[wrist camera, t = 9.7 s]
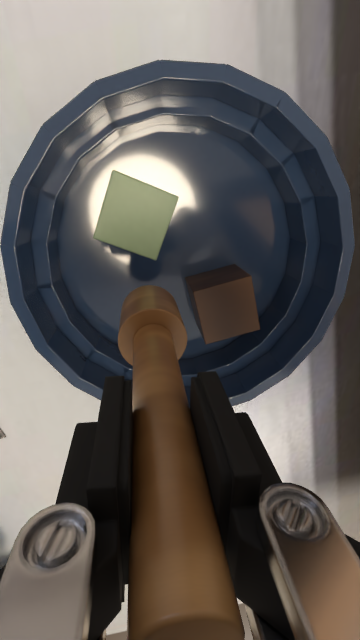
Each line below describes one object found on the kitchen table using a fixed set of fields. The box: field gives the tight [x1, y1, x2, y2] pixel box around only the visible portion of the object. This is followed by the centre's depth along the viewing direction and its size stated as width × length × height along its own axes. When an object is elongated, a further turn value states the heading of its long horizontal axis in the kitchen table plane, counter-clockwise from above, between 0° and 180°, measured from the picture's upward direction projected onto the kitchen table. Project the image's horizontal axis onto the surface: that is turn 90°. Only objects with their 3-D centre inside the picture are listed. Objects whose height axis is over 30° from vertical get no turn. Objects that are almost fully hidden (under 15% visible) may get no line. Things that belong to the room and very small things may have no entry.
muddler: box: [118, 285, 245, 640], centre depth 12 cm, size 3×3×15 cm
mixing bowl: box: [0, 60, 355, 407], centre depth 22 cm, size 21×21×6 cm
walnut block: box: [185, 264, 260, 344], centre depth 24 cm, size 4×4×4 cm
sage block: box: [93, 170, 178, 260], centre depth 21 cm, size 4×4×4 cm
